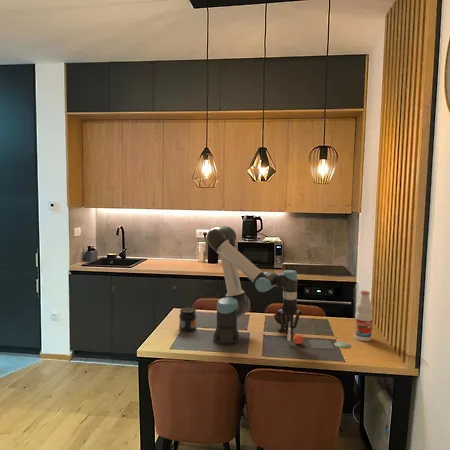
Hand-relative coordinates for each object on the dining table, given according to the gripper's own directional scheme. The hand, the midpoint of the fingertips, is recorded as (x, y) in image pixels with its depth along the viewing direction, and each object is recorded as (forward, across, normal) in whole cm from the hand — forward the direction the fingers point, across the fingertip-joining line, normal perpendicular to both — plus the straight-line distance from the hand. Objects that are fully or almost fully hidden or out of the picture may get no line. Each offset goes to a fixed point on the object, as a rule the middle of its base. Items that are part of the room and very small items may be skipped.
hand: (288, 339), depth 211 cm
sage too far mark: (+3, +30, +1) cm, 30 cm away
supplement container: (+2, -59, +19) cm, 62 cm away
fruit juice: (+3, +45, +12) cm, 46 cm away
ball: (0, +5, 0) cm, 5 cm away
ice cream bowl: (+2, -1, +20) cm, 20 cm away
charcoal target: (+3, +18, 0) cm, 18 cm away
